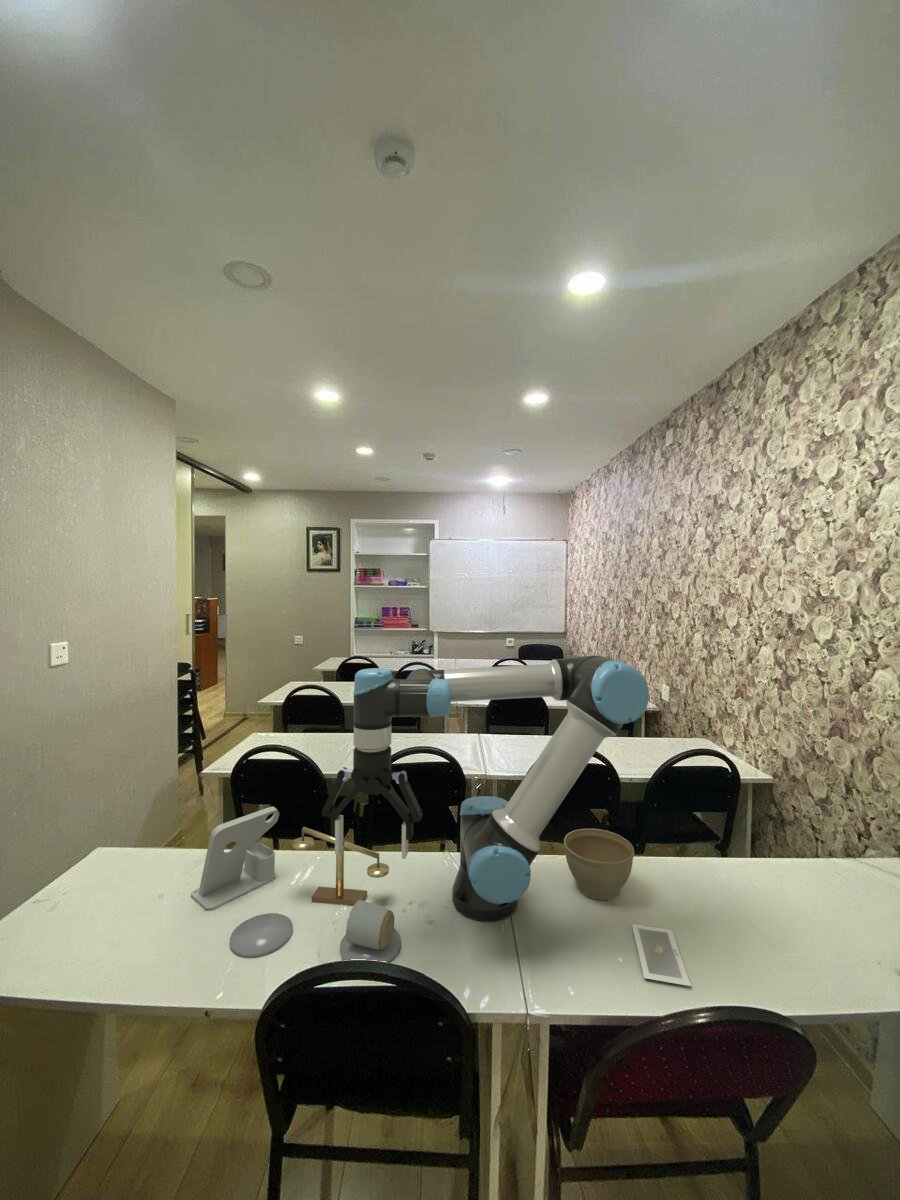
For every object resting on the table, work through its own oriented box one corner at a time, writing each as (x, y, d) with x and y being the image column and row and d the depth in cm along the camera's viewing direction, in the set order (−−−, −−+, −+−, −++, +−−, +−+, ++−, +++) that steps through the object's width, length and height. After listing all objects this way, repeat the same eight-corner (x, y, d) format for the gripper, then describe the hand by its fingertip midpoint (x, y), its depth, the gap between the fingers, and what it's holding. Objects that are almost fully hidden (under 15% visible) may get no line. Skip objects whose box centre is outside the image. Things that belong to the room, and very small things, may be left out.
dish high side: (302, 919, 102) (302, 915, 102) (275, 960, 90) (275, 956, 90) (250, 914, 104) (250, 910, 104) (216, 954, 92) (216, 950, 92)
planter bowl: (556, 871, 122) (556, 828, 122) (617, 870, 123) (617, 828, 123) (575, 911, 106) (575, 862, 106) (645, 910, 106) (646, 861, 107)
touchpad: (644, 984, 86) (644, 972, 86) (631, 929, 101) (631, 919, 101) (691, 992, 84) (691, 980, 84) (671, 935, 99) (671, 924, 99)
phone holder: (258, 864, 124) (259, 795, 124) (279, 878, 118) (280, 805, 118) (188, 895, 111) (189, 818, 111) (208, 913, 104) (209, 831, 104)
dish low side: (406, 929, 100) (406, 925, 100) (392, 973, 88) (392, 968, 88) (351, 924, 101) (351, 920, 101) (330, 966, 89) (330, 962, 89)
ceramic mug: (381, 960, 89) (382, 920, 90) (344, 951, 92) (345, 913, 92) (401, 926, 99) (402, 890, 100) (367, 919, 101) (368, 884, 102)
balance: (391, 896, 111) (391, 827, 111) (385, 910, 106) (386, 838, 106) (296, 888, 113) (297, 821, 114) (287, 901, 108) (288, 831, 109)
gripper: (436, 743, 97) (436, 847, 97) (320, 738, 100) (319, 839, 100) (430, 755, 90) (430, 867, 89) (305, 749, 93) (304, 858, 92)
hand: (371, 853), depth 95 cm, fingers open, 13 cm apart
